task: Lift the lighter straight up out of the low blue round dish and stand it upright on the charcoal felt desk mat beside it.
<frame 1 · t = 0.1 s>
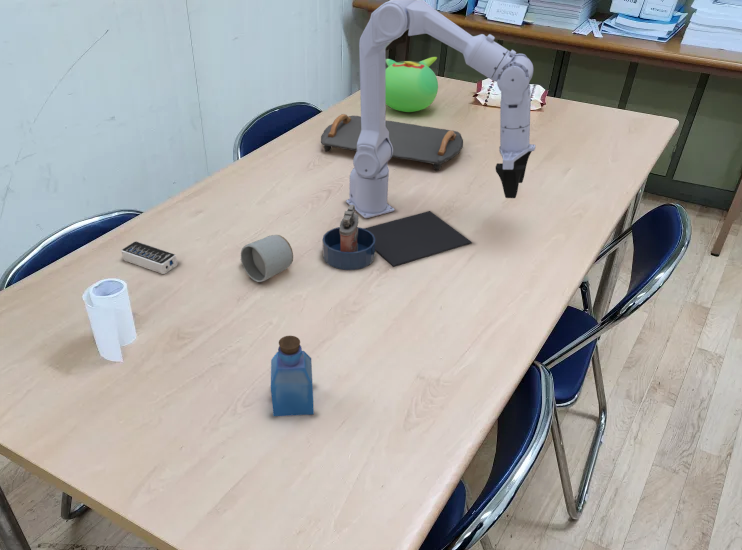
hand: (514, 189, 135), 11 cm above the table, tool pointing down, fingers open, 7 cm apart
blue round dish: (348, 256, 134), on the table
serving tray: (391, 148, 177), on the table
desk mat: (412, 237, 140), on the table
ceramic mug: (263, 272, 129), on the table
lighter: (348, 255, 134), resting on blue round dish
perfume bottle: (293, 402, 101), on the table
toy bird: (406, 110, 199), on the table
multiport hub: (150, 263, 131), on the table
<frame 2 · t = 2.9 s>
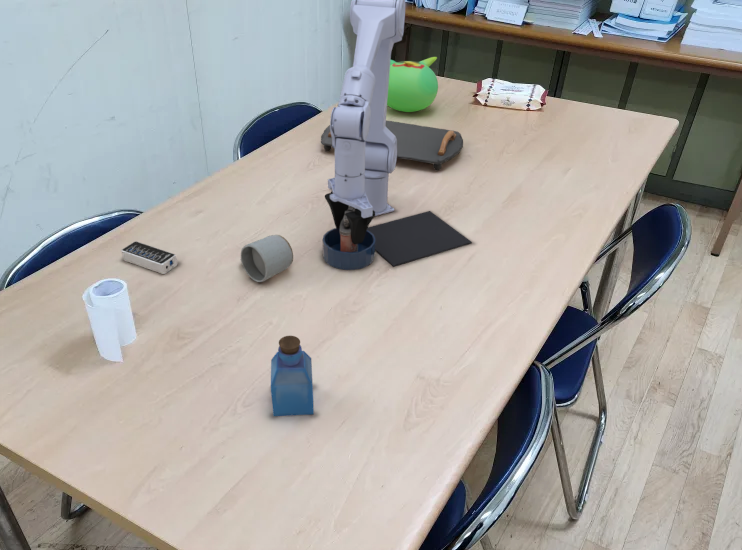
hand: (349, 234, 131), 5 cm above the table, tool pointing down, fingers closed on lighter, 6 cm apart
lighter: (348, 255, 134), resting on blue round dish, touching gripper
everything else where it was.
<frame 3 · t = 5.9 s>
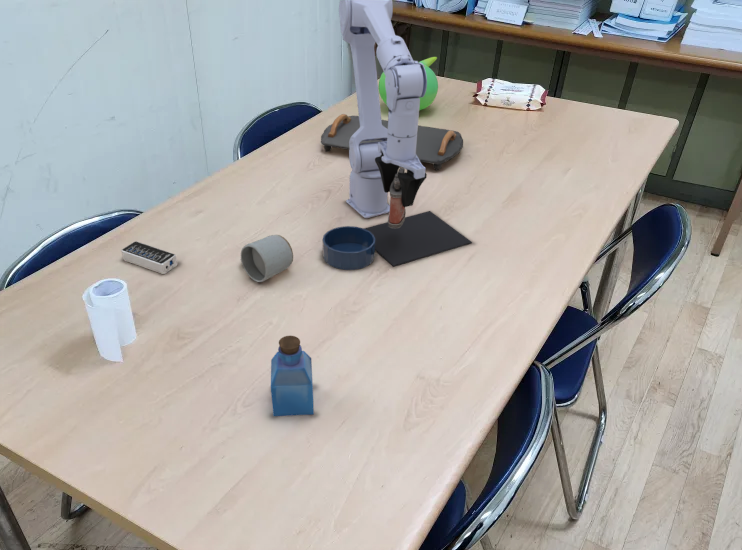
hand: (398, 198, 132), 10 cm above the table, tool pointing down, fingers closed on lighter, 6 cm apart
lighter: (396, 219, 135), point 5 cm above the table, touching gripper
everything else where it was.
when the fingers open (5 cm above the table, at t = 8.7 s): lighter stays where it is, resting on desk mat.
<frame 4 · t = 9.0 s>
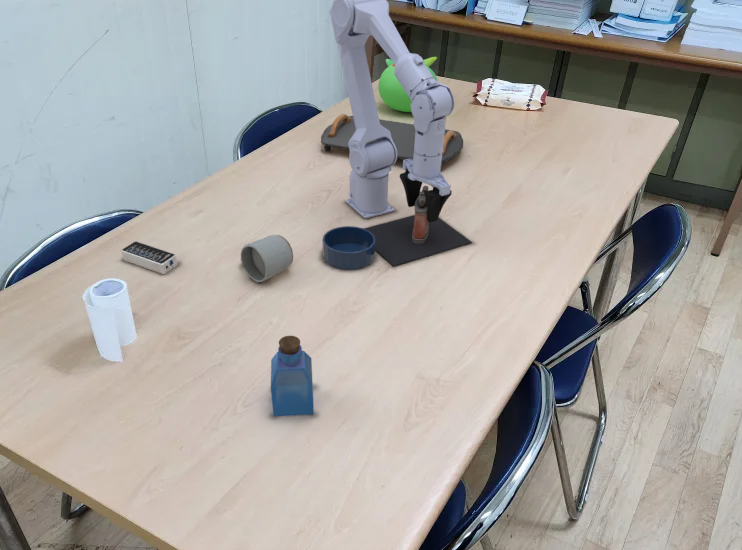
hand: (422, 213, 137), 5 cm above the table, tool pointing down, fingers open, 7 cm apart
lighter: (420, 234, 141), resting on desk mat
everything else where it was.
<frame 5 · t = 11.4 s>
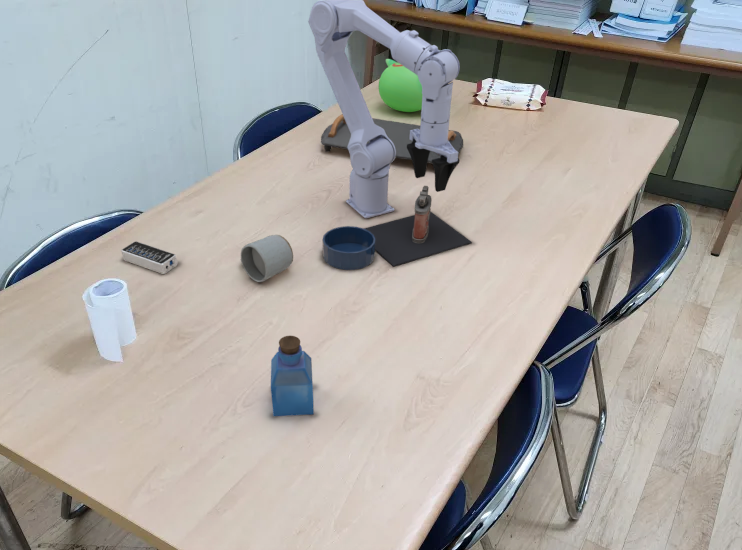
hand: (430, 183, 137), 10 cm above the table, tool pointing down, fingers open, 7 cm apart
nothing on the table moved.
at the end: lighter inside the target area on the desk mat (2.0 cm from its centre), point 0.2 cm above the desk mat's base; lighter tilted 0°; the gripper is holding nothing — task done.
